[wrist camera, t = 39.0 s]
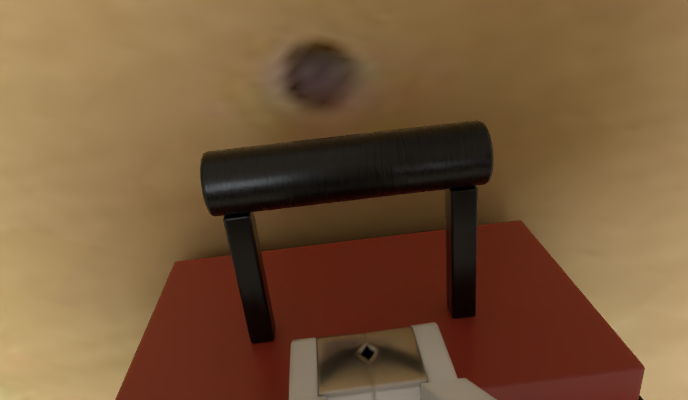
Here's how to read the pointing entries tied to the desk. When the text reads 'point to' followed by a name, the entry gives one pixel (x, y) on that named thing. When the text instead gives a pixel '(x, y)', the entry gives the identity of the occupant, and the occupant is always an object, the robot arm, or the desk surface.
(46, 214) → the desk surface
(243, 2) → the desk surface
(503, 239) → the drawer
